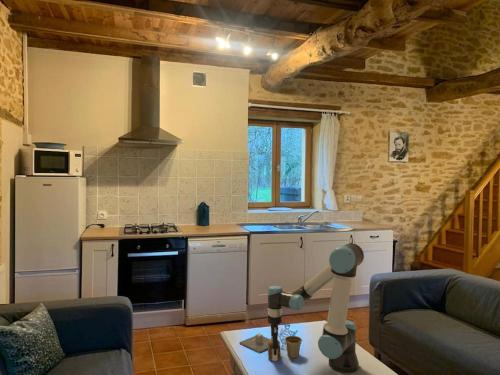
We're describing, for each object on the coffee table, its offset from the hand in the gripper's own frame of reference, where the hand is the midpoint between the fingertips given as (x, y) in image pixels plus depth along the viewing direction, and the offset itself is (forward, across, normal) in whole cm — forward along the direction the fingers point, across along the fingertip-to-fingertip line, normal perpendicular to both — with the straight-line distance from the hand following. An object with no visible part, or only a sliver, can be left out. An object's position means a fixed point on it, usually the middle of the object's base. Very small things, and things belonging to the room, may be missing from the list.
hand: (274, 354), depth 198 cm
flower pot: (+2, -2, +11) cm, 11 cm away
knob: (+1, 0, 0) cm, 1 cm away
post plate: (+1, -15, -8) cm, 17 cm away
